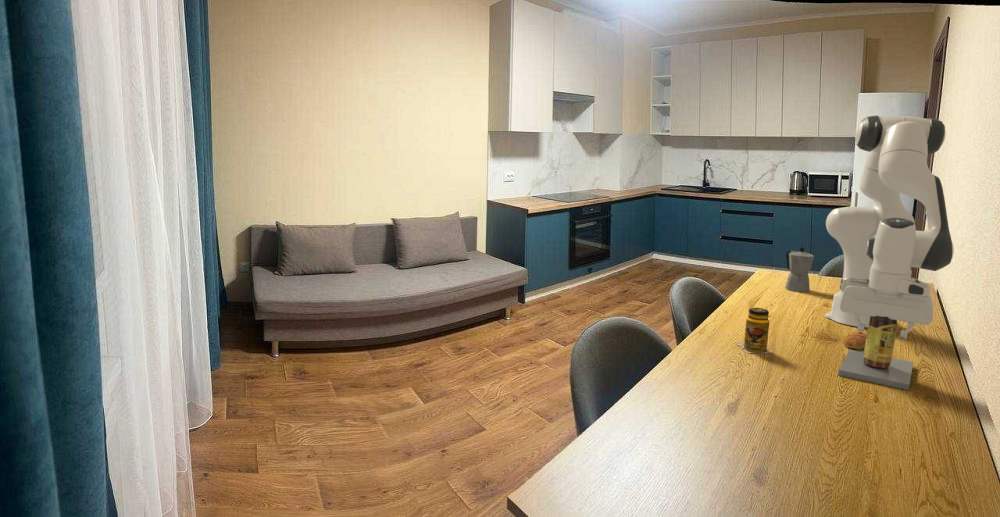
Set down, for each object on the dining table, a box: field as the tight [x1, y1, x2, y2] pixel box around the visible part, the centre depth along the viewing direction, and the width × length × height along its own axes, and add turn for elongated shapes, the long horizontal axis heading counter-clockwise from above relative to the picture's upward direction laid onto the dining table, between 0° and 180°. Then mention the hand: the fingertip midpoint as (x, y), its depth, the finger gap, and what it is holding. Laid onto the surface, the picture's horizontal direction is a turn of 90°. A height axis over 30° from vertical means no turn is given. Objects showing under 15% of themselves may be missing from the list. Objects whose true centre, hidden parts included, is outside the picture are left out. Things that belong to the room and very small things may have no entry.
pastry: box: [843, 331, 867, 351], centre depth 175 cm, size 9×7×4 cm
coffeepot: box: [784, 246, 815, 293], centre depth 246 cm, size 15×9×18 cm, turn 12°
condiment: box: [735, 307, 774, 354], centre depth 170 cm, size 7×8×12 cm
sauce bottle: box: [863, 315, 899, 368], centre depth 153 cm, size 7×6×20 cm
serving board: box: [837, 349, 914, 391], centre depth 155 cm, size 20×15×2 cm
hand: (881, 334), depth 154 cm, fingers open, 8 cm apart
